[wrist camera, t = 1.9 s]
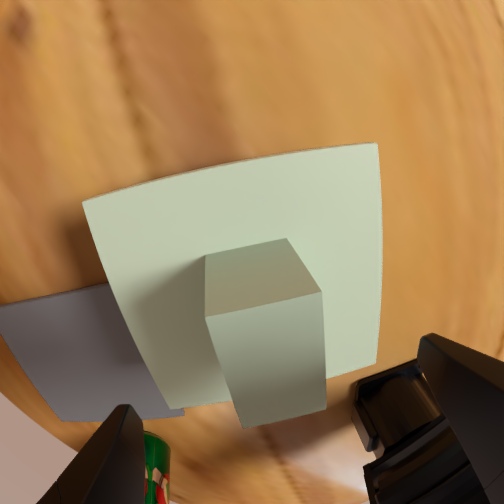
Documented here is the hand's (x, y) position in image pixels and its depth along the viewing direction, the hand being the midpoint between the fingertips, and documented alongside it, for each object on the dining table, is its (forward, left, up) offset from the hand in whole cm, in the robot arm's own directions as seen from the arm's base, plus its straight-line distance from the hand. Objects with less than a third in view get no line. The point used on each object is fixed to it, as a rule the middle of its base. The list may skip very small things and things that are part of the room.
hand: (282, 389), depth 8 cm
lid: (0, 0, -5) cm, 5 cm away
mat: (+13, +6, -10) cm, 17 cm away
